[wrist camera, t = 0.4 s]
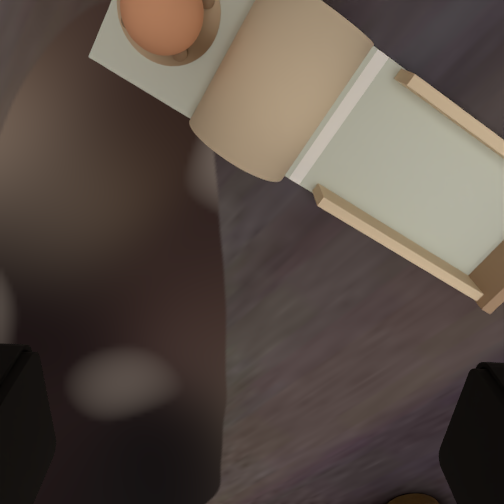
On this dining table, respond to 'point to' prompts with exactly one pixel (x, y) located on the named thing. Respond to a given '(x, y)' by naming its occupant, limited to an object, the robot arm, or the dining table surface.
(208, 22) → the tee
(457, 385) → the dining table surface
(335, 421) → the dining table surface
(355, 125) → the lane
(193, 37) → the ball
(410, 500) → the plant pot
